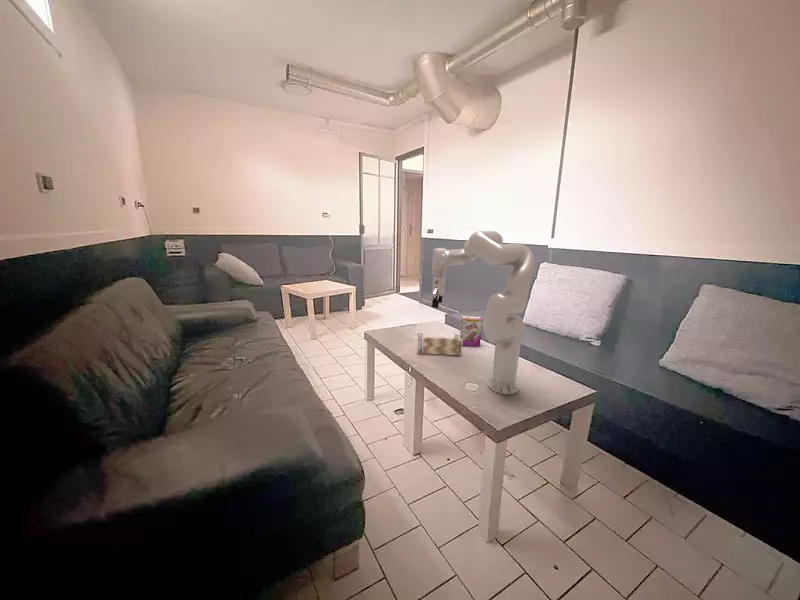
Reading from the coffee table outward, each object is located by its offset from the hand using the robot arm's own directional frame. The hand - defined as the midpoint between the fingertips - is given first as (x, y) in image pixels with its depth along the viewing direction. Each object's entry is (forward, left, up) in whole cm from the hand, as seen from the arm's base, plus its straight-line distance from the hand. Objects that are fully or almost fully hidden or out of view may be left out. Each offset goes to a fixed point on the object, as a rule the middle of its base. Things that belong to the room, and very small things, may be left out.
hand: (437, 304), depth 165 cm
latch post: (-4, -11, -25) cm, 28 cm away
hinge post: (-7, +8, -25) cm, 27 cm away
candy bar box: (+8, -20, -25) cm, 33 cm away
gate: (-7, -3, -25) cm, 26 cm away
